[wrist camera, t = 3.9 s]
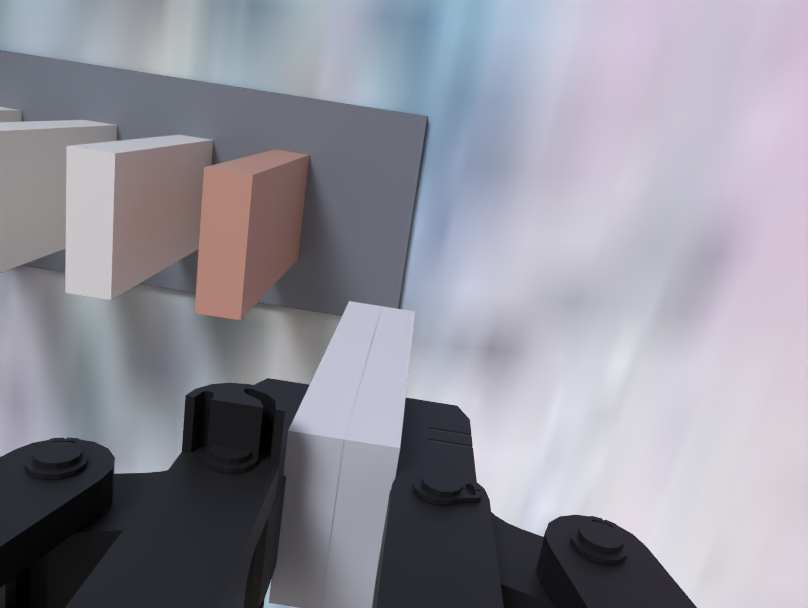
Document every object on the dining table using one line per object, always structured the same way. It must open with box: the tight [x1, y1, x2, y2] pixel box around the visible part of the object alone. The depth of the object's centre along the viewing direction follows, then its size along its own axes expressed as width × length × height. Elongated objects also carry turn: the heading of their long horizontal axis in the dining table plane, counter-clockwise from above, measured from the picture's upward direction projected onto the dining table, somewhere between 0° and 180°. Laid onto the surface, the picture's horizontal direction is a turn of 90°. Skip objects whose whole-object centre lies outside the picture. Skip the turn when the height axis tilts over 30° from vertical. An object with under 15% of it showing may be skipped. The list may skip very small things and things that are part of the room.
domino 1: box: [0, 120, 117, 273], centre depth 28 cm, size 2×5×10 cm, turn 171°
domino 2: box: [65, 135, 213, 300], centre depth 28 cm, size 2×5×10 cm, turn 172°
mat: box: [0, 50, 427, 316], centre depth 33 cm, size 30×10×1 cm, turn 81°
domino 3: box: [195, 150, 309, 320], centre depth 28 cm, size 2×5×10 cm, turn 172°
